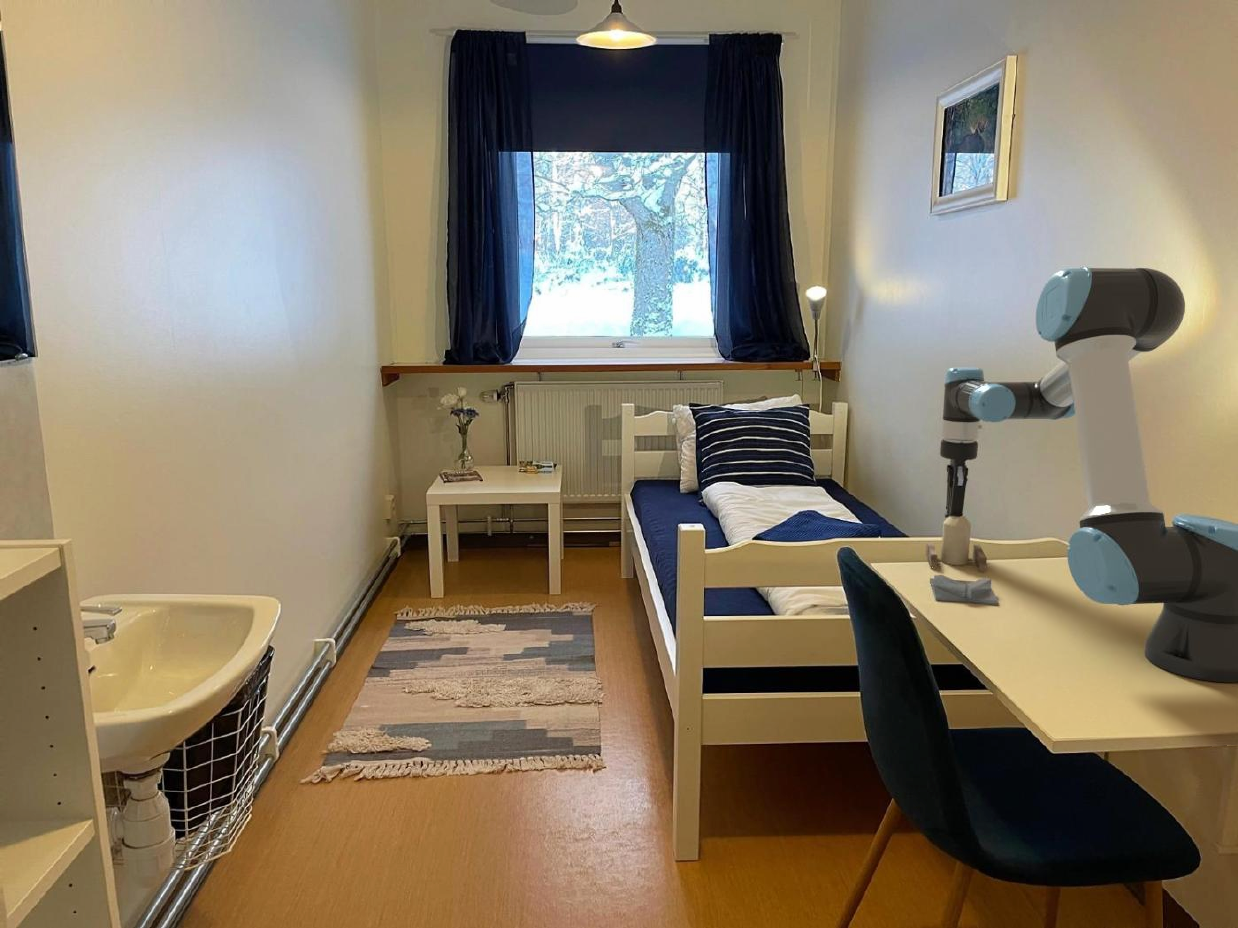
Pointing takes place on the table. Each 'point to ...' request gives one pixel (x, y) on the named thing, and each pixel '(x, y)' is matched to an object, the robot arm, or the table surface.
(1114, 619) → the table surface
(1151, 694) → the table surface
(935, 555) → the channel
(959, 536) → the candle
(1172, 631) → the robot arm
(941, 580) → the v block
